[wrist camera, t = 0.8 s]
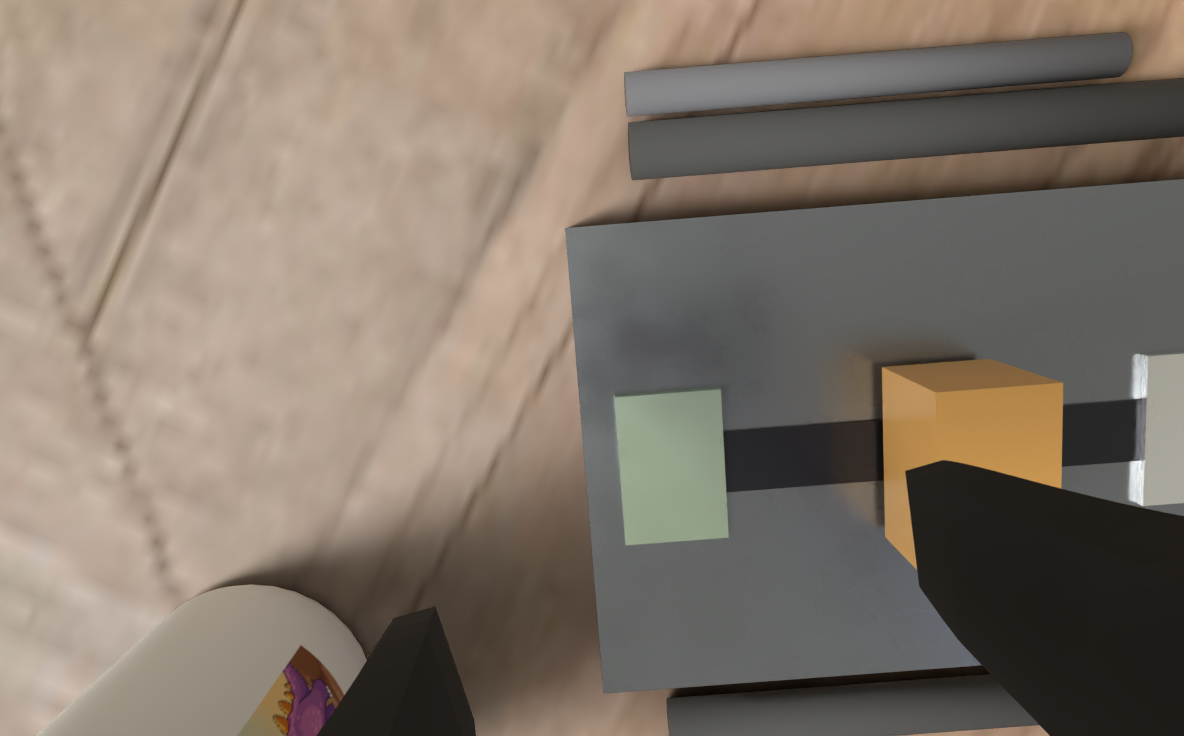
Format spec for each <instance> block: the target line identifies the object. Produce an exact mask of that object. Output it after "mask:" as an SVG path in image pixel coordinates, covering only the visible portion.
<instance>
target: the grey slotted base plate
mask: <svg viewBox="0 0 1184 736" xmlns="http://www.w3.org/2000/svg"><path fill="white" fill-rule="evenodd" d="M1132 53H1133V46H1132V41H1131V38H1130V36H1129V35H1128V34H1127V33H1125V32H1118V33H1106V34H1093V35H1081V36H1068V37H1056V38H1044V39H1031V40H1019V41H1006V42H994V43H982V44H969V45H957V46H944V47H932V48H920V49H907V50H895V51H882V52H870V53H858V54H845V55H833V56H820V57H808V58H796V59H783V60H771V61H758V62H746V63H734V64H721V65H709V66H696V67H684V68H672V69H659V70H647V71H634V72H625V73H624V86H625V103H626V112H627V117H628V116H641V115H653V114H666V113H678V112H691V111H703V110H716V109H728V108H741V107H753V106H765V105H778V104H790V103H803V102H815V101H828V100H840V99H853V98H865V97H878V96H890V95H903V94H915V93H927V92H940V91H952V90H965V89H977V88H990V87H1002V86H1015V85H1027V84H1040V83H1052V82H1065V81H1077V80H1090V79H1102V78H1114V77H1120V76H1121V75H1123V74H1124V73H1125V72H1126V70H1127V69H1128V67H1129V65H1130V62H1131V59H1132ZM1182 136H1184V78H1178V79H1165V80H1153V81H1140V82H1128V83H1115V84H1103V85H1090V86H1078V87H1065V88H1053V89H1040V90H1028V91H1015V92H1003V93H990V94H978V95H966V96H953V97H941V98H928V99H916V100H903V101H891V102H878V103H866V104H853V105H841V106H828V107H816V108H803V109H791V110H778V111H766V112H753V113H741V114H729V115H716V116H704V117H691V118H679V119H666V120H654V121H641V122H629V123H628V146H629V161H630V171H631V178H632V180H642V179H654V178H667V177H680V176H692V175H705V174H717V173H730V172H742V171H755V170H768V169H780V168H793V167H805V166H818V165H830V164H843V163H855V162H868V161H881V160H893V159H906V158H918V157H931V156H943V155H956V154H969V153H981V152H994V151H1006V150H1019V149H1031V148H1044V147H1057V146H1069V145H1082V144H1094V143H1107V142H1119V141H1132V140H1145V139H1157V138H1170V137H1182ZM667 717H668V728H669V736H898V735H911V734H925V733H939V732H952V731H966V730H979V729H993V728H1006V727H1020V726H1033V725H1039V724H1038V723H1037V722H1036V721H1035V720H1034V719H1033V718H1032V716H1031V715H1030V714H1029V713H1028V712H1027V711H1026V710H1025V709H1024V708H1023V707H1022V706H1021V705H1020V704H1019V703H1018V702H1017V701H1016V700H1015V699H1014V698H1013V697H1012V696H1011V695H1010V694H1009V693H1008V692H1007V691H1006V690H1005V689H1004V688H1003V687H1002V686H1001V685H1000V684H999V683H998V682H997V680H996V679H995V678H994V677H993V676H992V675H991V674H986V675H972V676H959V677H945V678H932V679H918V680H905V681H891V682H878V683H865V684H851V685H838V686H824V687H811V688H797V689H784V690H770V691H757V692H743V693H730V694H717V695H703V696H690V697H676V698H667Z"/></svg>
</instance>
